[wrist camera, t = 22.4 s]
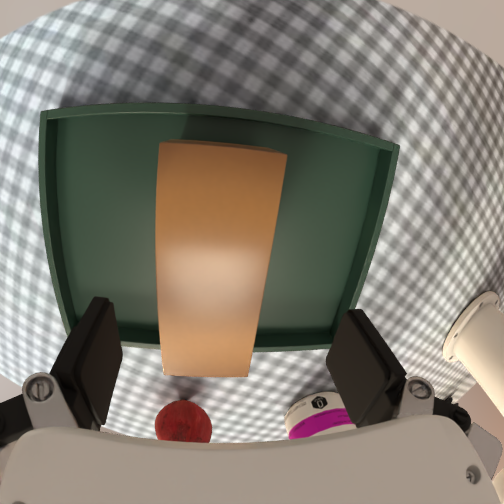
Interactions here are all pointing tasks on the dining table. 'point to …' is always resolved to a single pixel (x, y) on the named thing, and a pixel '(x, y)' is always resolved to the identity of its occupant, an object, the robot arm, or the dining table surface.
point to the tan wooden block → (213, 252)
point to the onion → (183, 423)
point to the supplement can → (317, 416)
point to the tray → (144, 213)
